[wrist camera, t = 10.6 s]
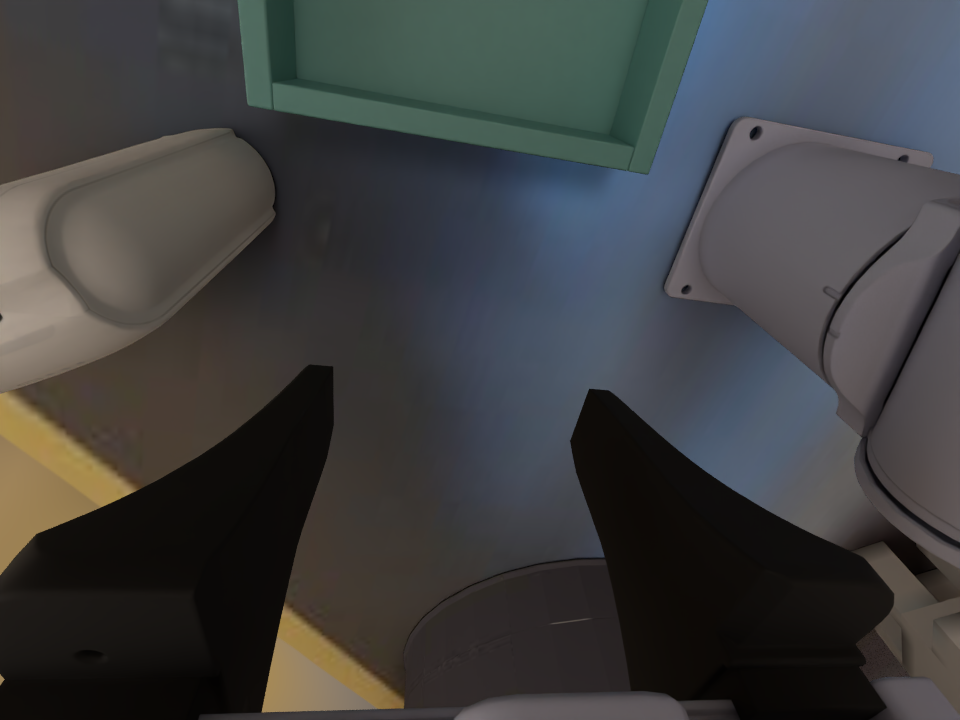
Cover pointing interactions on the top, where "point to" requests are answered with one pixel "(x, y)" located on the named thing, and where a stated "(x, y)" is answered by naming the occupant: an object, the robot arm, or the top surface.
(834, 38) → the top surface
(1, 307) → the white rounded flat block
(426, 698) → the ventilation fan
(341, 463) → the top surface
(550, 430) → the top surface
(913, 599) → the toy llama
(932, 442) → the robot arm
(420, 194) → the top surface
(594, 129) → the bin
